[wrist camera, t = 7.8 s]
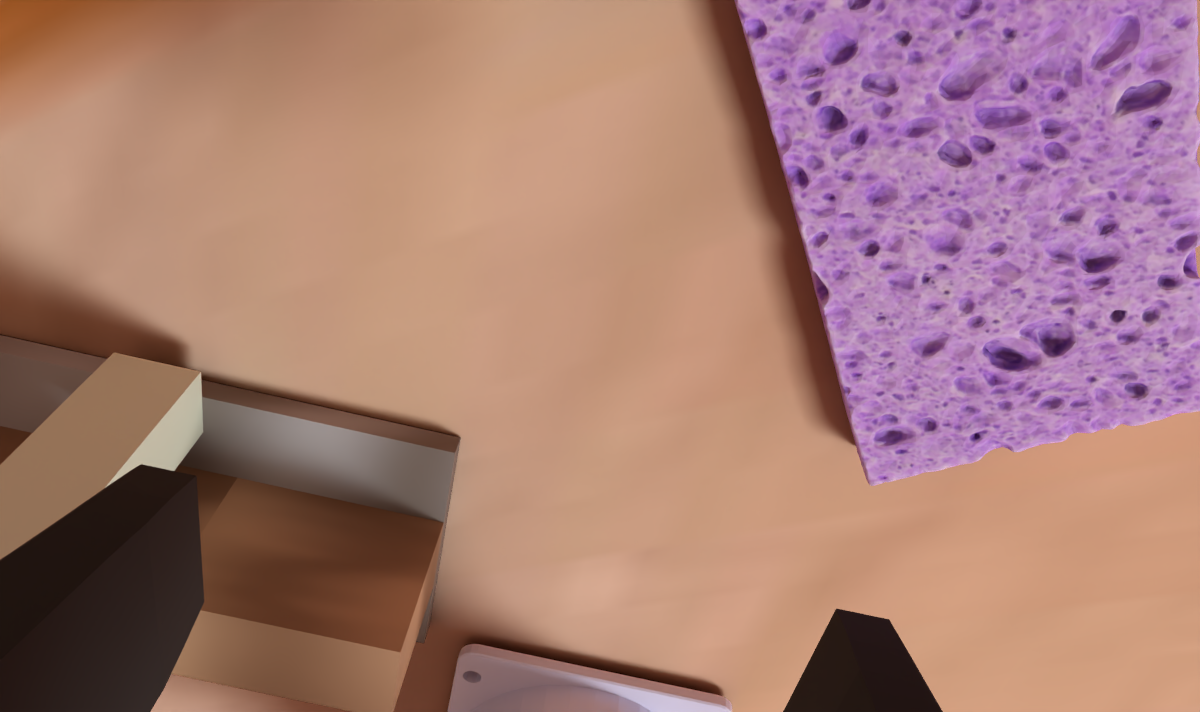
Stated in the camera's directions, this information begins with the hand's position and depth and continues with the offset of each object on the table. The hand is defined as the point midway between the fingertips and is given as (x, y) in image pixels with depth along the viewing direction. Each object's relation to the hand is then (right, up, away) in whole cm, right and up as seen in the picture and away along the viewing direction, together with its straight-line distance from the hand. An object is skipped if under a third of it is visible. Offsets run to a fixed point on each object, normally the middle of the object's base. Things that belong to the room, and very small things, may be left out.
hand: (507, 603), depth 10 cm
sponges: (+8, +7, +8) cm, 13 cm away
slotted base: (-10, 0, +13) cm, 16 cm away
